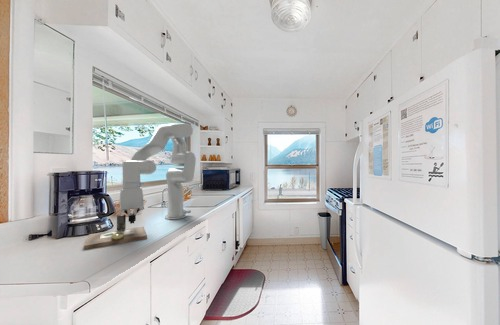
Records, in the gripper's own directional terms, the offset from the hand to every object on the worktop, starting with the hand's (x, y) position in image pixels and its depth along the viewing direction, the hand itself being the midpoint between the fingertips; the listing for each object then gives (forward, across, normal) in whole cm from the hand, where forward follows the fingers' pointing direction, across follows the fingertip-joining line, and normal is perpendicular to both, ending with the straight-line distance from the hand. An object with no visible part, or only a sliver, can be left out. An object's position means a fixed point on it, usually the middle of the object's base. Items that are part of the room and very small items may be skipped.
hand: (132, 222), depth 100 cm
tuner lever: (+3, +5, +6) cm, 9 cm away
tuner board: (+4, +6, +6) cm, 10 cm away
